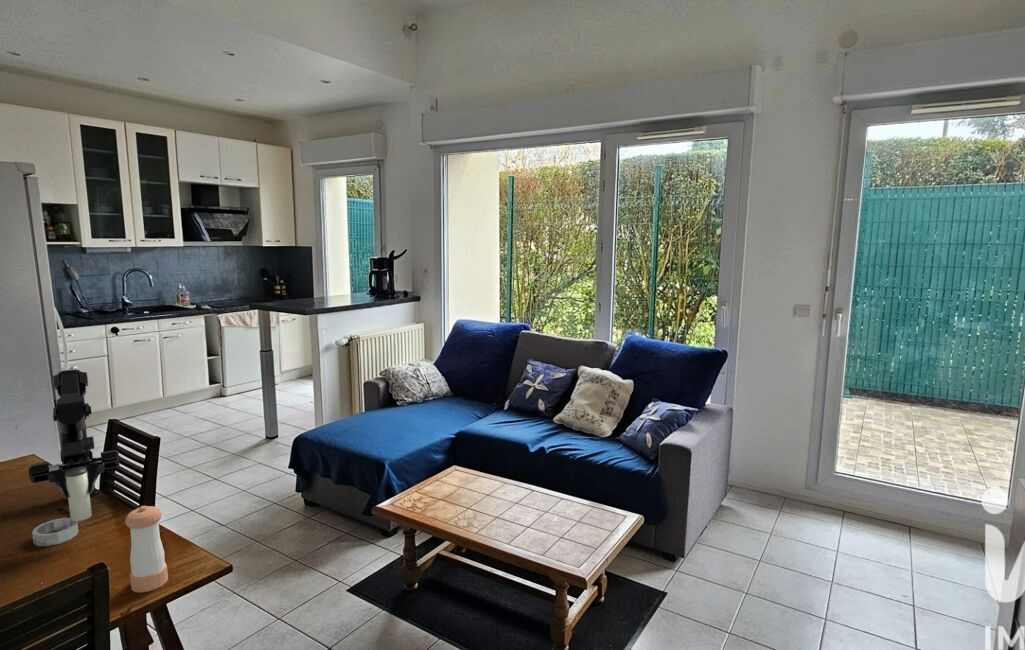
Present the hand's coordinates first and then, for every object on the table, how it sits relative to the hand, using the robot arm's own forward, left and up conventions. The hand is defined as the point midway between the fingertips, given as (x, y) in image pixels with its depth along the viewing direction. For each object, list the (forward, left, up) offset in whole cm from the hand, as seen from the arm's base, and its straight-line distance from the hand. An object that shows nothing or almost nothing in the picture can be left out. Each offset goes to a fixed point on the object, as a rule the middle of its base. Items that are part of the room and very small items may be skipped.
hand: (78, 495), depth 145 cm
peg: (-1, -1, -7) cm, 7 cm away
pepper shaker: (+16, +28, -14) cm, 35 cm away
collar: (-3, -10, -13) cm, 17 cm away
